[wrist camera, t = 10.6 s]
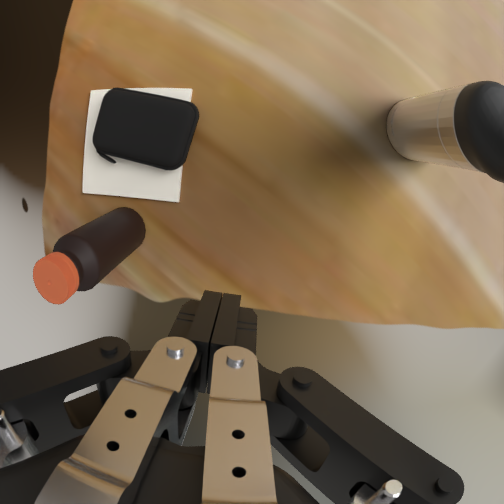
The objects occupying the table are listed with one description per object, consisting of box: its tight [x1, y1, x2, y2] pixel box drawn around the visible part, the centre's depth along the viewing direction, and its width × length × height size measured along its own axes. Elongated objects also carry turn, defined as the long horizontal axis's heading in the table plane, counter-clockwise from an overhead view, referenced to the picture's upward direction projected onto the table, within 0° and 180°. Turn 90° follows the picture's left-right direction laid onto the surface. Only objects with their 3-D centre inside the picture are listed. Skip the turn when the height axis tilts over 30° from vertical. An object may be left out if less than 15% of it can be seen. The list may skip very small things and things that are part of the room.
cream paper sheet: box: [83, 88, 192, 202], centre depth 39 cm, size 16×16×1 cm
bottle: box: [33, 207, 146, 304], centre depth 35 cm, size 7×7×20 cm
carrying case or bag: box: [92, 88, 199, 170], centre depth 37 cm, size 11×3×15 cm
